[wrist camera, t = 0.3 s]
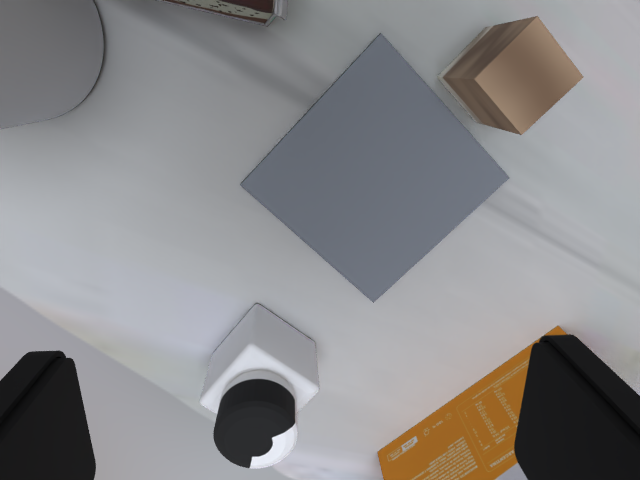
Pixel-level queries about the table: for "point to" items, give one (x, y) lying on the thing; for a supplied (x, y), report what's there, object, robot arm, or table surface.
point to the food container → (239, 9)
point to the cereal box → (466, 432)
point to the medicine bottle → (260, 388)
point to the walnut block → (510, 75)
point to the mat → (375, 172)
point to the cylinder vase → (47, 58)
